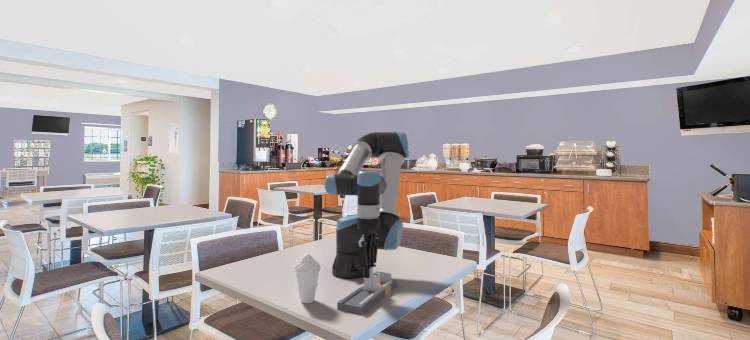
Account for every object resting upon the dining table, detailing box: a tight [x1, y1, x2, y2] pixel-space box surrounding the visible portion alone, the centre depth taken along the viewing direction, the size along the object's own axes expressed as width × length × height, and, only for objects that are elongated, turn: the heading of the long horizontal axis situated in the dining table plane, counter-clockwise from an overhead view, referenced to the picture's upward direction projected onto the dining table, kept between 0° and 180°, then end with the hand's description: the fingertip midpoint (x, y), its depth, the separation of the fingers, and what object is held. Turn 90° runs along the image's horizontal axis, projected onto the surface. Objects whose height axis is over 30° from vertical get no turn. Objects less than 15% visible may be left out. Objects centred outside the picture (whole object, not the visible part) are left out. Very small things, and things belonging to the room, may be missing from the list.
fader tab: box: [364, 271, 380, 292], centre depth 124 cm, size 4×4×5 cm
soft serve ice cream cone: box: [294, 252, 321, 304], centre depth 118 cm, size 8×8×16 cm
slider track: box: [336, 271, 398, 315], centre depth 123 cm, size 9×27×5 cm, turn 154°
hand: (368, 286), depth 122 cm, fingers closed
